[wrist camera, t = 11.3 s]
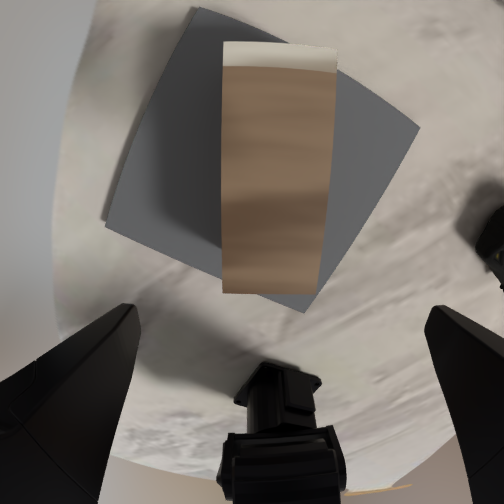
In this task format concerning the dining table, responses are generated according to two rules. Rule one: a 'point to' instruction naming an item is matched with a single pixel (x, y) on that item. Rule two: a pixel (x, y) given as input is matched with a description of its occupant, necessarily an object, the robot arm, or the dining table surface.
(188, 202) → the charcoal mat
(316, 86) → the wooden block
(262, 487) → the robot arm
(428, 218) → the dining table surface
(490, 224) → the tape measure
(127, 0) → the dining table surface
